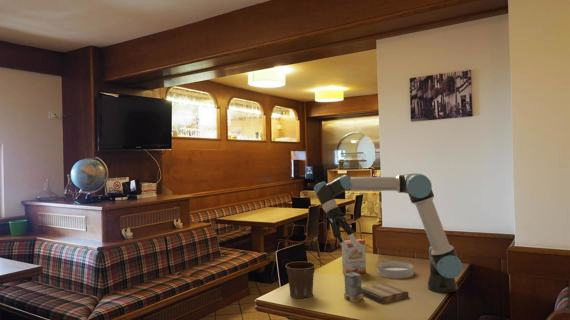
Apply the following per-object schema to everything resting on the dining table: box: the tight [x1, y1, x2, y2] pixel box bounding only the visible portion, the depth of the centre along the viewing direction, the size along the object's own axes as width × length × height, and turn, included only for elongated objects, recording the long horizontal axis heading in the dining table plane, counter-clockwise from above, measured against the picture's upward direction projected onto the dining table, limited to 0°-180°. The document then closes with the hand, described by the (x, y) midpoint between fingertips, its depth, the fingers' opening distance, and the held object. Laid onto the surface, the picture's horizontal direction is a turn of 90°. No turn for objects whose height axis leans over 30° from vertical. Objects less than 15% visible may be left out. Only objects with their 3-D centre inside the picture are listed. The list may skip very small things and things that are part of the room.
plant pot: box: [285, 261, 316, 299], centre depth 216 cm, size 16×16×16 cm
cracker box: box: [341, 238, 367, 275], centre depth 253 cm, size 14×6×21 cm, turn 105°
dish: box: [376, 261, 415, 279], centre depth 248 cm, size 22×22×5 cm
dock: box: [361, 282, 409, 304], centre depth 209 cm, size 18×18×3 cm
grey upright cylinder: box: [343, 272, 364, 303], centre depth 205 cm, size 7×7×13 cm
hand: (351, 247), depth 201 cm, fingers open, 13 cm apart
